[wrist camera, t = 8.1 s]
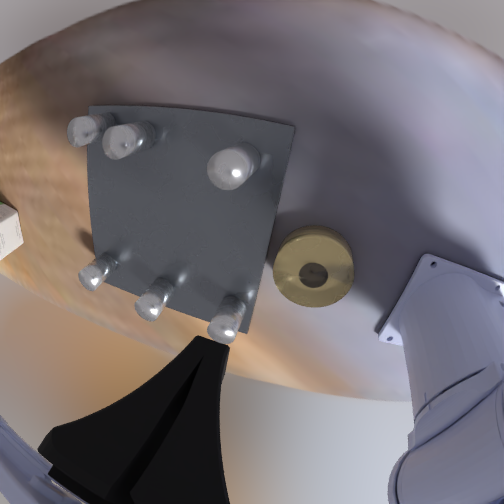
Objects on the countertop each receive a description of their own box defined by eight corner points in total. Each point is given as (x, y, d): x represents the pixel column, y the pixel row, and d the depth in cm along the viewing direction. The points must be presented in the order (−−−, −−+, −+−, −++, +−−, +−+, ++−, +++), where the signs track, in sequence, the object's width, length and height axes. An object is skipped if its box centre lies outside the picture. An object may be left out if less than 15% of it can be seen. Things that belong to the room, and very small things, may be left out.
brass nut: (362, 236, 17) (366, 252, 15) (337, 297, 19) (337, 315, 18) (287, 215, 17) (282, 228, 16) (271, 278, 20) (265, 295, 18)
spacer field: (295, 126, 14) (288, 130, 11) (248, 329, 23) (236, 361, 20) (93, 105, 16) (59, 110, 13) (102, 276, 24) (80, 297, 22)
